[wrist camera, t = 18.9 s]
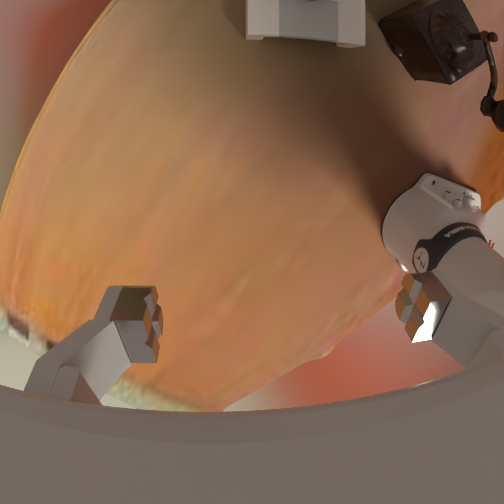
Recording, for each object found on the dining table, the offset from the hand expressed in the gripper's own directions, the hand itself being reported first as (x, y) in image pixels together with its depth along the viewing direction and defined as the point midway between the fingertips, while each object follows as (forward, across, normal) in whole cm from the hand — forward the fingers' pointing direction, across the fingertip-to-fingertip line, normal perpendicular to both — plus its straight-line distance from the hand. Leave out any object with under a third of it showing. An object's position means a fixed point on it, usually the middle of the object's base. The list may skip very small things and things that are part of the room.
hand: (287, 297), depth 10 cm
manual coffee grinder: (+34, +27, +14) cm, 46 cm away
